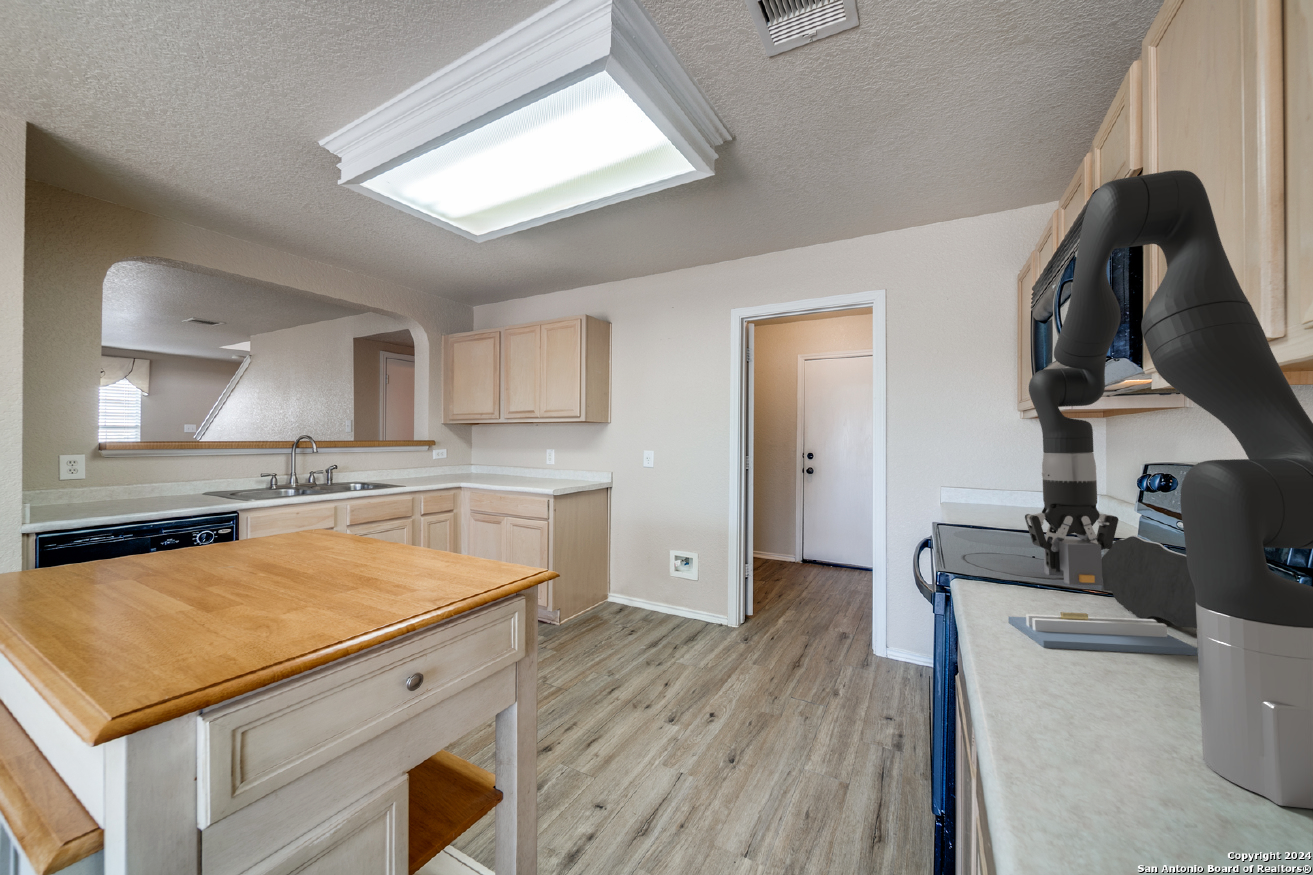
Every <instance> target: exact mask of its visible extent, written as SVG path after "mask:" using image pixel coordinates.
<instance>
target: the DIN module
mask: <svg viewBox="0 0 1313 875" xmlns="http://www.w3.org/2000/svg"><path fill="white" fill-rule="evenodd" d="M1046 537H1047V535H1046V536H1045V539H1046ZM1057 552H1059V560H1060V572H1053V571H1051V570H1050V569H1049V568H1048V567H1047V566H1046V558H1045V549H1044V548H1043V562H1044V563H1043V564H1044V567H1043V568H1044V570H1043V571H1044V574H1046V575H1047V576H1052V577H1053V576H1057V577H1058V576H1062V577H1063V583H1065V584H1066V585H1070V586H1071V585H1072V586H1073V585H1074V586H1075V585H1076V586H1103V578H1102V557H1103V556H1102V550H1101V545H1100V544H1096V543H1093V542H1088V541H1086V540H1081V539H1080V538H1079V537H1075V536H1066V537H1065V539H1064V540H1063V541H1062V542H1059V550H1058V551H1057Z"/></svg>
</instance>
